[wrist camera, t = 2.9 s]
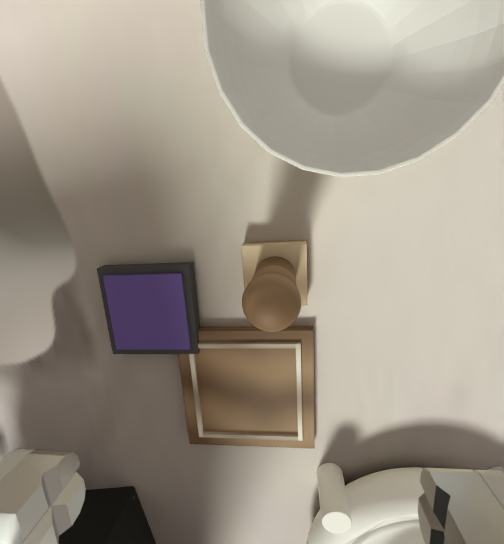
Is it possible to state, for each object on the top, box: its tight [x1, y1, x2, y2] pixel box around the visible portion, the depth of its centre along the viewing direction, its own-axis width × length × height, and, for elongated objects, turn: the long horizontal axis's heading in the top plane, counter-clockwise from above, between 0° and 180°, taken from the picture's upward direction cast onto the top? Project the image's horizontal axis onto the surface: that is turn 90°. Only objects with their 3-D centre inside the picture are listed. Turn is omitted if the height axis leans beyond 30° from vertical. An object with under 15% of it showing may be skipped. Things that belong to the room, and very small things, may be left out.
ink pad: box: [97, 262, 200, 354], centre depth 28 cm, size 8×8×2 cm
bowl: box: [201, 0, 504, 177], centre depth 18 cm, size 16×16×7 cm
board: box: [178, 326, 315, 448], centre depth 29 cm, size 12×12×1 cm
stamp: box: [242, 240, 308, 332], centre depth 22 cm, size 5×5×9 cm
